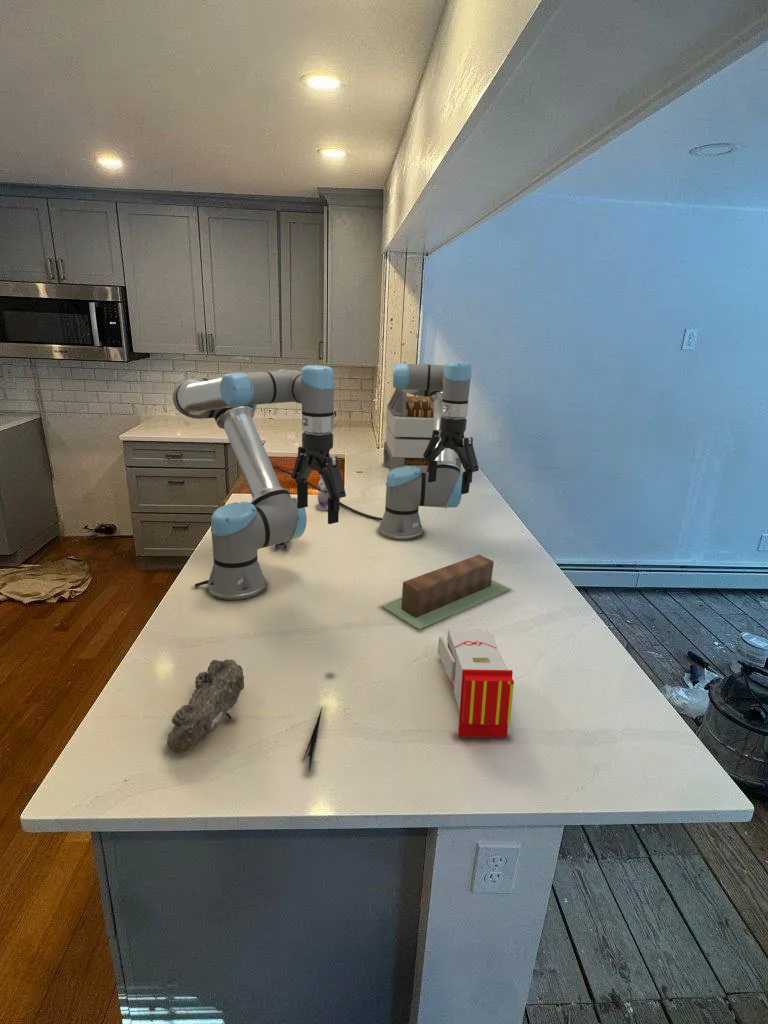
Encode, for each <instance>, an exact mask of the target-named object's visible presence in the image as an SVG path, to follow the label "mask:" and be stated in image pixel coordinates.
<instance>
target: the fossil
mask: <svg viewBox="0 0 768 1024" xmlns="http://www.w3.org/2000/svg"><path fill="white" fill-rule="evenodd" d="M243 670H244V669H243V667H242V665H240V664H237V662H236V661H235V660H234V659H232V658H231V659H227V658H226V659H224V660H223V661H222V660H217V659H212V660H211V661H210V663H209V665H208V666H207V671H201V672H199V673H198V674H197V675H196V676H195V680H194V684H195V685H194V687H195V689H194V690H193V693H192V694H191V697H190V698H189V700H188V704H184V705H182V706H181V707H180V709H177V710H176V711H175V713H174V715H173V716H172V718H171V723H172V724H173V727H172V730H171V731H170V732H168V734H167V738H166V741H167V742H166V745H167V749H168V750H169V751H173V752H174V753H176V754H178V753H182V752H188V751H189V752H192V751H193V750H195V748H196V747H197V746H199V744H200V743H201V742H203V741H204V740H205V739H206V738H207V737H208V736H209V735H210V734H211V733H212V732H214V730H215V729H217V727H218V726H219V724H220V722H221V721H222V720H223V719H224V718H225V716H226V717H227V719H229V720H233V717H232V715H230V714H229V710H230V709H231V708H234V706H235V704H236V703H237V702H238V699H239V697H240V695H241V693H242V691H243V690H245V689H244V688H245V675H244V671H243Z"/></svg>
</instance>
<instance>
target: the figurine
mask: <svg viewBox="0 0 768 1024" xmlns="http://www.w3.org/2000/svg"><path fill="white" fill-rule="evenodd" d="M317 488H319V489H320V491H318V493H317V502H318V503H317V508H318V510H321V511H328V498H329V497H330V495H329V493H328V490H327V488H326V486H325V483H324V481H323V478H322V476H321V475H320V474H319V481H318V483H317ZM333 493H334V492H333Z"/></svg>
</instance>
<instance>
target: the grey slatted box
mask: <svg viewBox="0 0 768 1024" xmlns="http://www.w3.org/2000/svg"><path fill="white" fill-rule="evenodd" d="M407 394H408V393H406V392H404V391H403V390H401V389H396V388H395V390H394V392H393V394H392V395H391V398H390V400H389V402H388V404H387V405H386V413H385V414H386V415H385V423H386V428H385V438H384V442H383V466H384V467H388V468H389V472H390V471H391V470H393V469H395V468H399V467H405V466H413V467H428V460H427V458H424V456H423V454H424V452H425V450H426V448H427V446H428V444H429V442H430V440H431V438H432V433H433V409H434V405H432V404H431V403H430V397H422V396H416V395H412V396H411V395H407ZM459 448H460V447H459ZM456 465H457V466H458V467H459V468H460V474H462V473H461V472H462V463H461V461H460V459H459V457H458V455H457V453H456Z"/></svg>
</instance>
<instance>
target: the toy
mask: <svg viewBox="0 0 768 1024" xmlns="http://www.w3.org/2000/svg"><path fill="white" fill-rule="evenodd" d="M446 640H447V643H446V641H445V639H444V636H443V635H442V634H439V637H438V646H437V656H438V657H439V659H440V661H441V663H442V666H443V668H444V670H445V672H446V674H447V677H448V679H449V681H450V684H451V687H452V690H453V693H454V697H455V701H456V705H457V708H458V711H459V714H458V715H459V716H458V730H457V731H458V732H457V737H458V738H508V731H509V726H510V725H511V717H512V707H513V697H514V696H513V695H514V684H515V680H514V679H513V673H514V671H513V670H512V669H508V667H507V665H506V662H505V661H504V659H503V658H502V655H501V653H500V651H499V649H498V647H497V643H496V639H495V637H494V635H493V634H491V632H490V631H489V629H467V628H466V629H465V628H463V629H461V628H460V629H459V628H448V630H447V639H446Z"/></svg>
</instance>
